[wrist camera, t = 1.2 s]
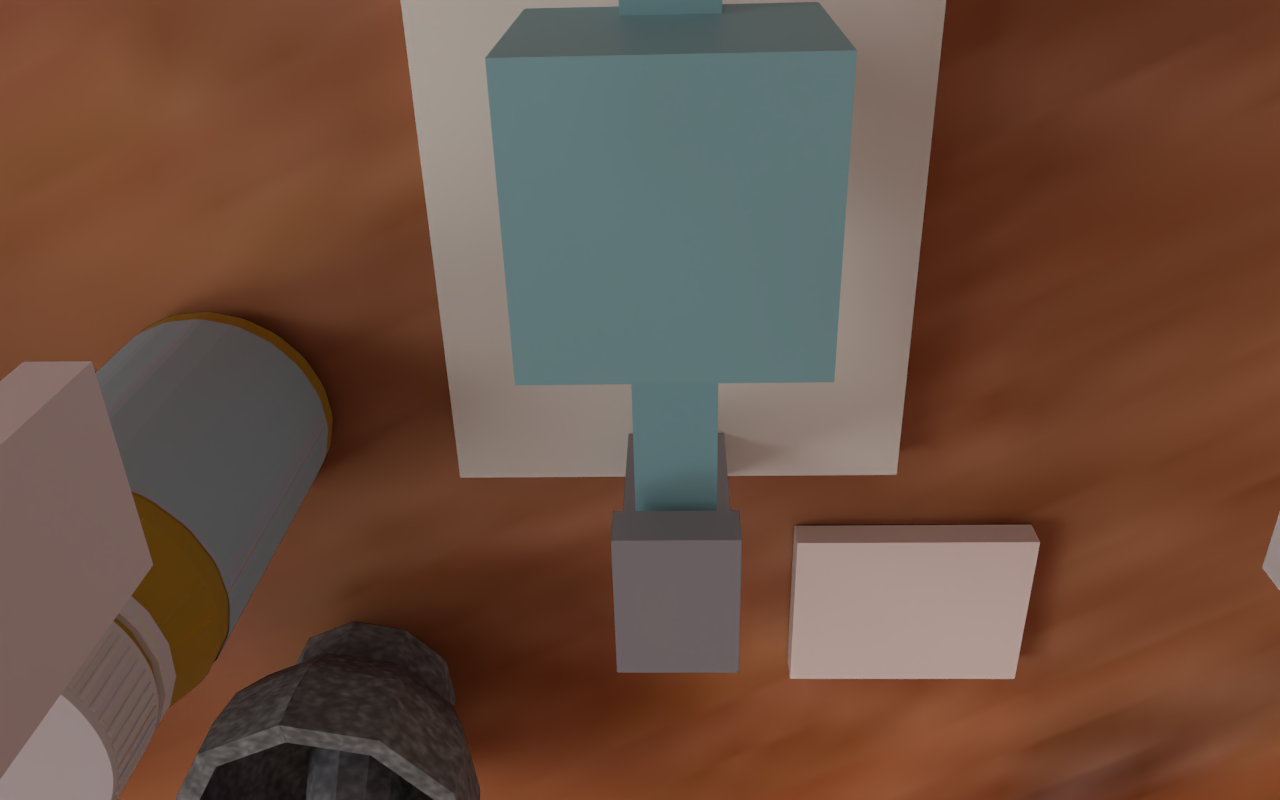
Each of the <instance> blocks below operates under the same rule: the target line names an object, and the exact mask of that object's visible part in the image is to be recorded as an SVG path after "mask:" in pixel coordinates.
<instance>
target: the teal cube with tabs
mask: <svg viewBox="0 0 1280 800" xmlns="http://www.w3.org/2000/svg"><path fill="white" fill-rule="evenodd" d="M856 57H857V50H856V48H855V47H854V46H853V45H852V43H851V42H850V41H849V40H848V38H847V37H846V36H845V35H844V33H843V32H842V31H841V30H840V28H839V27H838V26H837V25H836V23H835V22H834V21H833V20H832V18H831V17H830V16H829V14H828V13H827V12H826V11H825V9H824V8H823V7H822V6H821V4H820V3H819V2H790V3H746V4H722V0H619V6H614V7H570V8H527V9H524V10H523V11H522V12H521V13H520V15H519V16H518V17H517V18H516V20H515V21H514V22H513V24H512V25H511V26H510V27H509V29H508V30H507V31H506V32H505V34H504V35H503V36H502V37H501V39H500V40H499V41H498V42H497V44H496V45H495V46H494V47H493V49H492V50H491V51H490V52H489V54H488V55H487V56H486V58H485V63H486V74H487V85H488V96H489V107H490V118H491V129H492V140H493V151H494V162H495V172H496V183H497V194H498V205H499V216H500V227H501V238H502V249H503V260H504V271H505V281H506V292H507V303H508V314H509V325H510V336H511V347H512V358H513V369H514V380H515V385H601V384H631V389H632V419H633V449H634V479H635V509H636V511H717V456H718V383H806V382H834V378H835V363H836V349H837V334H838V319H839V305H840V290H841V276H842V261H843V247H844V232H845V217H846V203H847V188H848V174H849V159H850V145H851V130H852V115H853V101H854V86H855V72H856Z"/></svg>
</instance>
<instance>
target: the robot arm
mask: <svg viewBox="0 0 1280 800" xmlns="http://www.w3.org/2000/svg"><path fill="white" fill-rule="evenodd" d="M152 566H153V562H152V559H151V555H150V552H149V549H148V546H147V542H146V539H145V536H144V532H143V529H142V526H141V522H140V519H139V516H138V512H137V509H136V506H135V502H134V499H133V496H132V493H131V489H130V486H129V483H128V479H127V476H126V473H125V469H124V466H123V463H122V459H121V456H120V453H119V449H118V446H117V443H116V440H115V436H114V433H113V430H112V426H111V423H110V420H109V416H108V413H107V410H106V406H105V403H104V400H103V396H102V393H101V390H100V387H99V383H98V380H97V377H96V373H95V370H94V367H93V363H92V361H67V362H23V363H21V364H20V365H19V366H18V367H17V368H15V369H14V370H13V371H12V372H11V373H9V374H8V375H7V376H6V377H4V378H3V379H2V380H1V381H0V779H1V778H2V776H3V775H4V773H5V772H6V771H7V769H8V768H9V766H10V765H11V764H12V762H13V761H14V759H15V758H16V757H17V755H18V754H19V752H20V751H21V750H22V748H23V747H24V745H25V744H26V743H27V741H28V740H29V738H30V737H31V736H32V734H33V733H34V731H35V730H36V729H37V727H38V726H39V724H40V723H41V722H42V720H43V719H44V717H45V716H46V715H47V713H48V712H49V710H50V709H51V708H52V706H53V705H54V703H55V702H56V701H57V699H58V698H59V696H60V695H61V694H62V692H63V691H64V689H65V688H66V686H67V685H68V684H69V682H70V681H71V679H72V678H73V677H74V675H75V674H76V672H77V671H78V670H79V668H80V667H81V665H82V664H83V663H84V661H85V660H86V658H87V657H88V656H89V654H90V653H91V651H92V650H93V649H94V647H95V646H96V644H97V643H98V642H99V640H100V639H101V637H102V636H103V635H104V633H105V632H106V630H107V629H108V628H109V626H110V625H111V623H112V622H113V621H114V619H115V618H116V616H117V615H118V614H119V612H120V611H121V609H122V608H123V607H124V605H125V604H126V602H127V601H128V600H129V598H130V597H131V595H132V594H133V593H134V591H135V590H136V588H137V587H138V586H139V584H140V583H141V581H142V580H143V579H144V577H145V576H146V574H147V573H148V571H149V570H150V569H151V567H152ZM1262 568H1263V570H1264V571H1265V572H1266V573H1267V575H1268V576H1269V577H1270V579H1271V580H1272V581H1273V583H1274V584H1275V585H1276V586H1277V588H1278V589H1279V590H1280V512H1279V516H1278V519H1277V522H1276V525H1275V528H1274V532H1273V535H1272V538H1271V541H1270V544H1269V547H1268V551H1267V554H1266V557H1265V560H1264V563H1263V567H1262Z"/></svg>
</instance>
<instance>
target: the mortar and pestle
mask: <svg viewBox="0 0 1280 800" xmlns="http://www.w3.org/2000/svg"><path fill="white" fill-rule="evenodd" d="M455 701H456V695H455V692H454V688H453V685H452V681H451V677H450V674H449V670H448V667H447V663H446V660H445V659H444V658H442V657H441V656H440V655H438V654H437V653H436V652H434V651H433V650H432V649H431V648H429V647H428V646H427V645H425V644H424V643H423V642H421V641H420V640H419V639H417V638H416V637H415V636H413V635H412V634H411V633H410V632H408V631H407V630H403V629H397V628H390V627H384V626H378V625H372V624H366V623H360V622H351V623H349V624H346V625H343V626H341V627H338V628H335V629H333V630H330V631H327V632H325V633H322V634H319V635H317V636H314V637H311V638H309V640H308V642H307V644H306V646H305V648H304V650H303V652H302V654H301V656H300V658H299V660H298V662H297V664H296V665H294V666H292V667H289V668H286V669H283V670H281V671H278V672H275V673H273V674H270V675H267V676H265V677H264V678H262V679H260V680H258V681H257V682H255V683H253V684H251V685H249V686H248V687H246V688H244V689H242V690H241V691H239V692H237V693H236V694H235V695H234V697H233V698H232V699H231V701H230V702H229V703H228V704H227V706H226V707H225V708H224V710H223V711H222V712H221V713H220V715H219V716H218V717H217V719H216V720H215V721H214V723H213V724H212V726H211V728H210V730H209V732H208V734H207V736H206V738H205V740H204V742H203V744H202V746H201V748H200V750H199V752H198V754H197V756H196V758H195V760H194V762H193V764H192V766H191V768H190V770H189V772H188V774H187V777H186V779H185V781H184V783H183V785H182V787H181V789H180V791H179V793H178V795H177V797H176V799H175V800H480V787H479V783H478V780H477V776H476V773H475V769H474V765H473V762H472V758H471V755H470V751H469V748H468V744H467V741H466V737H465V733H464V730H463V727H462V725H461V723H460V720H459V718H458V716H457V714H456V711H455V709H454V704H455Z"/></svg>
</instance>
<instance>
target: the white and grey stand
mask: <svg viewBox="0 0 1280 800" xmlns="http://www.w3.org/2000/svg"><path fill="white" fill-rule="evenodd" d="M790 2H819V3H820V4H821V6H822V7H823V8H824V9H825V11H826V12H827V13H828V14H829V16H830V17H831V18H832V20H833V21H834V22H835V23H836V25H837V26H838V27H839V28H840V30H841V31H842V32H843V33H844V35H845V36H846V37H847V38H848V40H849V41H850V42H851V43H852V45H853V46H854V47H855V48H856V50H857V57H856V72H855V86H854V101H853V115H852V130H851V145H850V159H849V174H848V188H847V203H846V217H845V232H844V247H843V261H842V276H841V290H840V305H839V319H838V334H837V349H836V363H835V378H834V382H806V383H718V456H717V511H636V509H635V479H634V449H633V419H632V389H631V384H601V385H515V380H514V369H513V358H512V347H511V336H510V325H509V314H508V303H507V292H506V281H505V271H504V260H503V249H502V238H501V227H500V216H499V205H498V194H497V183H496V172H495V162H494V151H493V140H492V129H491V118H490V107H489V96H488V85H487V74H486V63H485V58H486V56H487V55H488V54H489V52H490V51H491V50H492V49H493V47H494V46H495V45H496V44H497V42H498V41H499V40H500V39H501V37H502V36H503V35H504V34H505V32H506V31H507V30H508V29H509V27H510V26H511V25H512V24H513V22H514V21H515V20H516V18H517V17H518V16H519V15H520V13H521V12H522V11H523V10H524V9H527V8H570V7H614V6H619V0H401V8H402V16H403V24H404V32H405V40H406V48H407V56H408V64H409V72H410V80H411V88H412V96H413V104H414V112H415V120H416V128H417V136H418V144H419V152H420V160H421V168H422V176H423V184H424V192H425V200H426V208H427V216H428V224H429V232H430V240H431V248H432V256H433V264H434V272H435V280H436V288H437V296H438V304H439V312H440V320H441V328H442V336H443V344H444V352H445V360H446V368H447V376H448V384H449V392H450V400H451V408H452V416H453V424H454V432H455V440H456V448H457V456H458V464H459V472H460V478H495V477H625V489H624V502H623V511H613V522H612V533H611V555H612V576H613V597H614V619H615V640H616V661H617V673H739V633H740V592H741V550H742V538H741V527H740V516H739V510H730V497H729V485H728V476H794V475H897V466H898V456H899V447H900V437H901V428H902V418H903V409H904V399H905V390H906V380H907V370H908V361H909V351H910V342H911V332H912V323H913V313H914V304H915V294H916V285H917V275H918V265H919V256H920V246H921V237H922V227H923V218H924V208H925V199H926V189H927V180H928V170H929V160H930V151H931V141H932V132H933V122H934V113H935V103H936V94H937V84H938V75H939V65H940V55H941V46H942V36H943V27H944V17H945V8H946V0H722V4H746V3H790Z"/></svg>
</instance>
